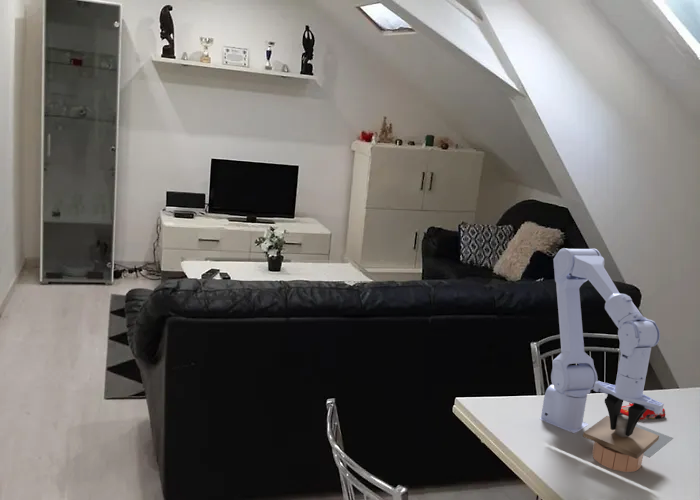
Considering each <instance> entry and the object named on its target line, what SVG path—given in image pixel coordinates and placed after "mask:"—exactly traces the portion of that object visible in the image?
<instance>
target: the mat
mask: <svg viewBox="0 0 700 500" xmlns="http://www.w3.org/2000/svg"><path fill="white" fill-rule="evenodd" d="M635 427H638V428H640V429H643V430H646V431H648V432H651V433H654V434H656V435H659V440H658V441H656V442H655V443H654V444H653V445H652V446H651V447H650V448H649V449H647V450H646V451H645V452H644V454H643V456H645V457H646V458H647V457H648V458H651V457H652V456H654V454H655V453H657V452H659V450H660V449H662V448H663V447H664V446H666V445H667V444H668V443H669V442H671V441H672V440H673V439H674V438H673V437H671V436H669V435H666V434H664V433H661V432H659V431H655V430H654V429H650V428H648V427H646V426H643V425H640V424H638V423H637V424H636V426H635Z"/></svg>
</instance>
